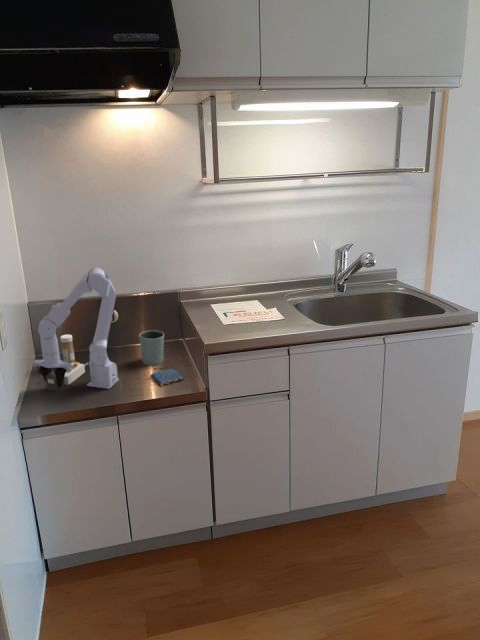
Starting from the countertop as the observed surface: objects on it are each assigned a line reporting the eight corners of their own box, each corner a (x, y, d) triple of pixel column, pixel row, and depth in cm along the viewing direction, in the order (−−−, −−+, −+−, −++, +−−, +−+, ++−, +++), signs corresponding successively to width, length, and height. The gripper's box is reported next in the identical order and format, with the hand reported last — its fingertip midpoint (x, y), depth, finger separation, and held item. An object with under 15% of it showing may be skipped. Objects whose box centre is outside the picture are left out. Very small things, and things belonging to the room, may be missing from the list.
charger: (67, 383, 196) (65, 370, 194) (57, 391, 190) (55, 377, 188) (57, 382, 197) (55, 368, 195) (47, 390, 191) (45, 376, 189)
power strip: (94, 364, 212) (93, 355, 211) (68, 384, 195) (67, 375, 194) (82, 363, 214) (81, 354, 212) (55, 383, 197) (54, 373, 195)
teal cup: (138, 358, 218) (136, 332, 214) (161, 354, 222) (160, 328, 218) (144, 367, 209) (142, 340, 205) (168, 363, 213) (167, 336, 209)
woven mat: (185, 381, 199) (185, 376, 198) (160, 388, 193) (160, 383, 193) (174, 371, 207) (174, 367, 206) (149, 377, 202) (149, 373, 201)
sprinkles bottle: (77, 367, 210) (73, 336, 206) (66, 369, 208) (61, 339, 203) (73, 363, 214) (70, 333, 209) (62, 365, 212) (58, 335, 207)
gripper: (74, 348, 189) (78, 382, 194) (39, 345, 193) (44, 378, 197) (63, 356, 183) (68, 390, 187) (27, 352, 186) (33, 386, 191)
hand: (55, 385), depth 192 cm, fingers closed on charger, 4 cm apart
